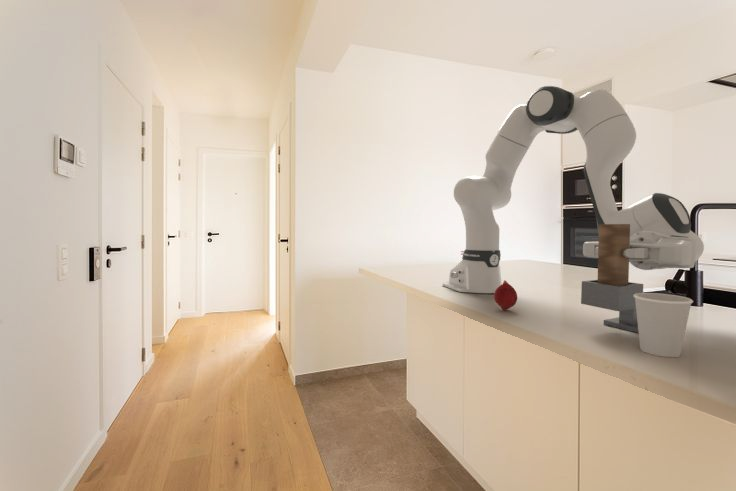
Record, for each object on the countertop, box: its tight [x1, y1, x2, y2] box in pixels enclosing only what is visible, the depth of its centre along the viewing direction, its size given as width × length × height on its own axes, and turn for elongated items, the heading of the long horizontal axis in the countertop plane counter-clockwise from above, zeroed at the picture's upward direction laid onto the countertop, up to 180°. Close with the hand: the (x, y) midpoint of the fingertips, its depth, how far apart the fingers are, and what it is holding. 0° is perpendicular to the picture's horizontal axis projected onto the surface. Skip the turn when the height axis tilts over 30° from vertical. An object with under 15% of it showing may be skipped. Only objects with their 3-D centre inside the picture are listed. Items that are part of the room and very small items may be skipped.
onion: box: [493, 279, 518, 311], centre depth 99 cm, size 6×6×8 cm
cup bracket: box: [580, 279, 644, 334], centre depth 81 cm, size 8×14×10 cm, turn 115°
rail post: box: [597, 224, 630, 286], centre depth 79 cm, size 4×4×14 cm
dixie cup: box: [633, 292, 694, 358], centre depth 66 cm, size 8×8×10 cm
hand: (610, 252), depth 78 cm, fingers closed on rail post, 4 cm apart
